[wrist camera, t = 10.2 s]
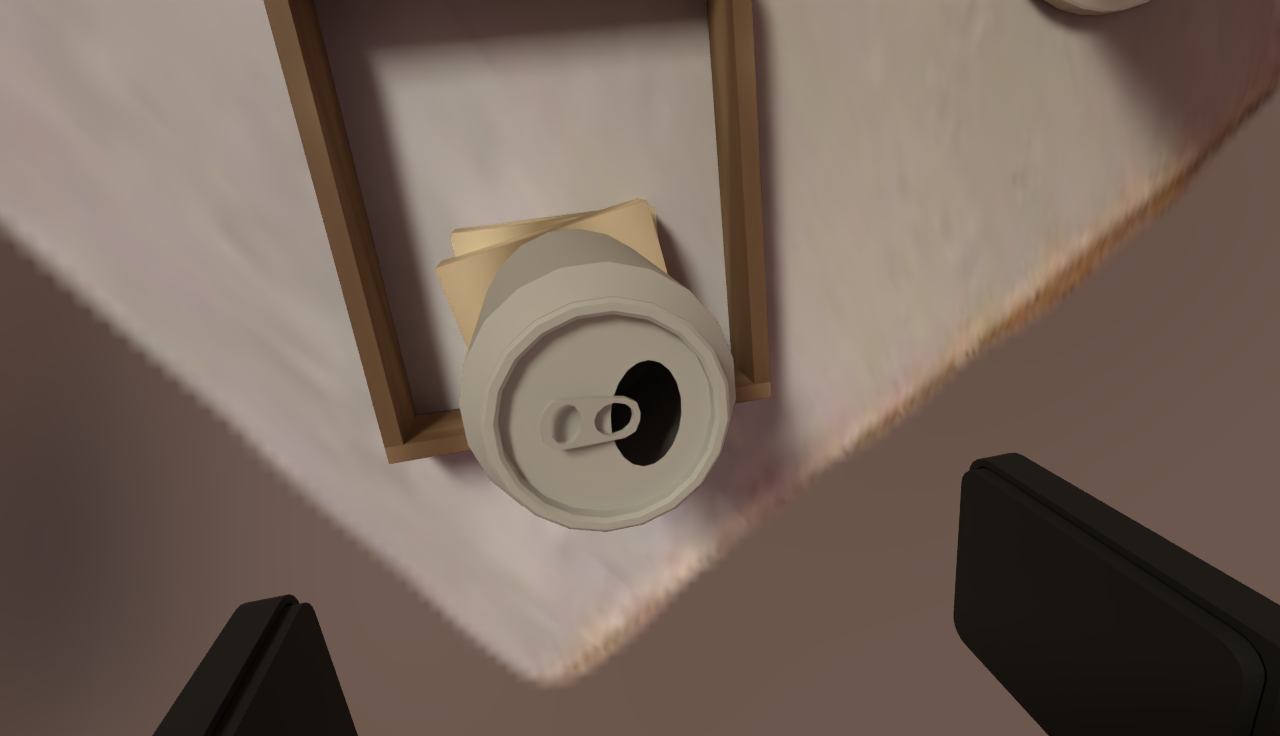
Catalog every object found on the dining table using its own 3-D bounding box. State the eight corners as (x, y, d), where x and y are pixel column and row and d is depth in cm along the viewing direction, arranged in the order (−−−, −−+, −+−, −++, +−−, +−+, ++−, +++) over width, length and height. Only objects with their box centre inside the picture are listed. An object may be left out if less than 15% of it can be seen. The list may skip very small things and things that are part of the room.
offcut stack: (656, 192, 30) (678, 196, 26) (674, 368, 33) (696, 397, 29) (440, 220, 28) (425, 229, 24) (478, 401, 31) (471, 436, 27)
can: (656, 398, 28) (743, 549, 17) (486, 401, 27) (458, 568, 16) (665, 229, 26) (772, 274, 15) (480, 223, 25) (443, 268, 13)
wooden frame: (720, -56, 27) (747, -87, 24) (747, 374, 33) (771, 397, 30) (286, -23, 25) (249, -53, 21) (403, 433, 31) (389, 463, 28)
